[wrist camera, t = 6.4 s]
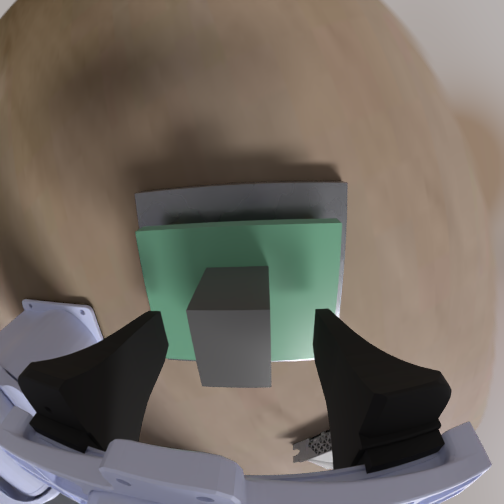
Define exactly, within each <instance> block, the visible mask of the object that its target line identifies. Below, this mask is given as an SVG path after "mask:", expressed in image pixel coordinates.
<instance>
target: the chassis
mask: <svg viewBox="0 0 504 504" xmlns="http://www.w3.org/2000/svg"><path fill="white" fill-rule="evenodd" d="M135 201H136V209H137V216H138V223H139V229H140V228H142V227H144V226H158V225H173V224H190V223H208V222H229V221H253V220H282V219H326V218H337V219H338V220H339V221H340V222H341V223H342V236H341V254H340V269H339V282H338V293H337V303H336V312H335V315H336V316H337V317H338V318H339V312H340V303H341V294H342V284H343V272H344V259H345V244H346V223H347V183H346V182H343V181H278V182H250V183H231V184H215V185H202V186H189V187H178V188H168V189H159V190H150V191H141V192H138V193H136V194H135ZM168 359H169V358H168ZM170 360H184V359H170ZM301 360H315V359H301ZM301 360H281V361H301ZM184 361H196V360H184ZM281 361H271V362H281Z"/></svg>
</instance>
